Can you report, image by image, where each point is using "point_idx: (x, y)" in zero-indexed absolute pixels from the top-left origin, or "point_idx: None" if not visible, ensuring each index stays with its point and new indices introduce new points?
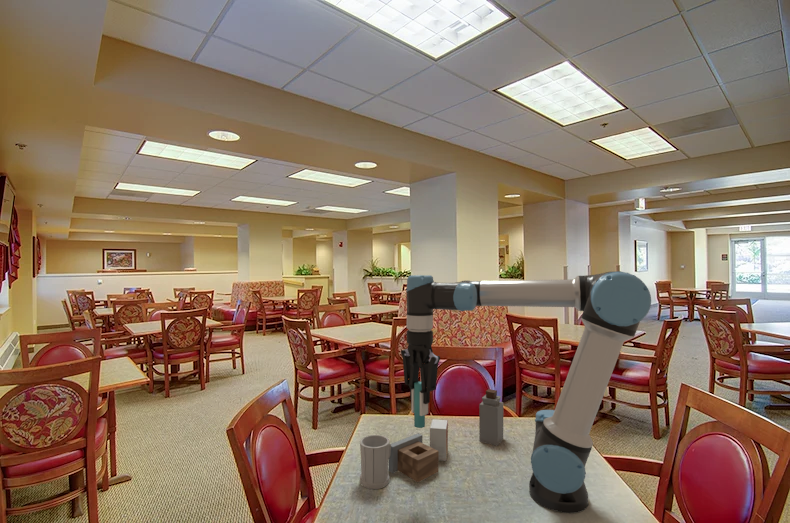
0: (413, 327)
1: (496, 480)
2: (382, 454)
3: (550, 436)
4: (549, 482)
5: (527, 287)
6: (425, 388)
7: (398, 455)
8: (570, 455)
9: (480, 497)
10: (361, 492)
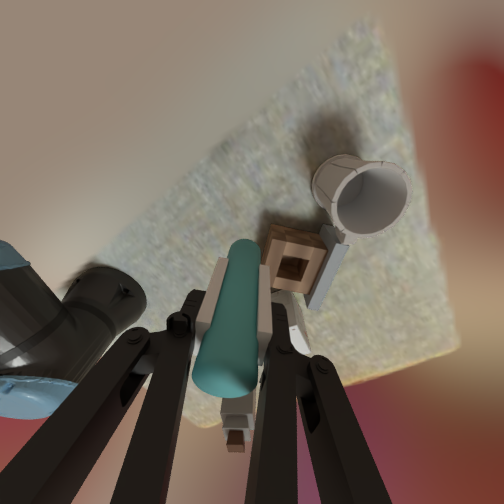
0: None
1: (185, 288)
2: (331, 187)
3: None
4: None
5: None
6: (163, 344)
7: (323, 245)
8: None
9: (178, 243)
10: (342, 138)
